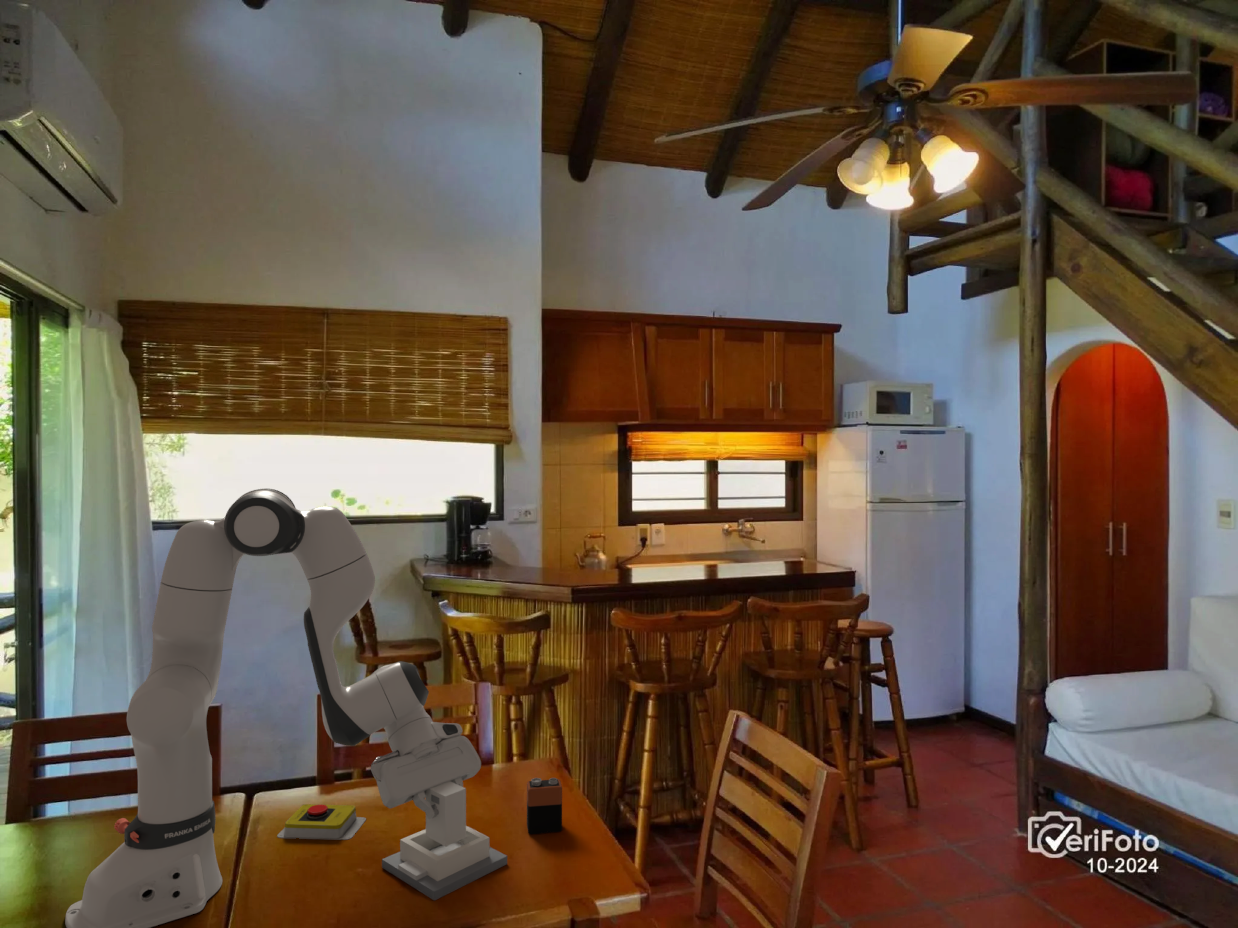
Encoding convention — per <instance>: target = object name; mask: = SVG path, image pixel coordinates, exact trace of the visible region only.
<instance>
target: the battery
mask: <svg viewBox="0 0 1238 928" xmlns="http://www.w3.org/2000/svg"><path fill="white" fill-rule="evenodd" d="M526 829H527V833H528V834H529V835H536V834H548V833H559V832H562V831H563V787H562V782H561V780H560V779H558V778H556V777H551V778H549V779H542V778H539V777H534V778H532V779H530V780H529V781H527V783H526Z"/></svg>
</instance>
